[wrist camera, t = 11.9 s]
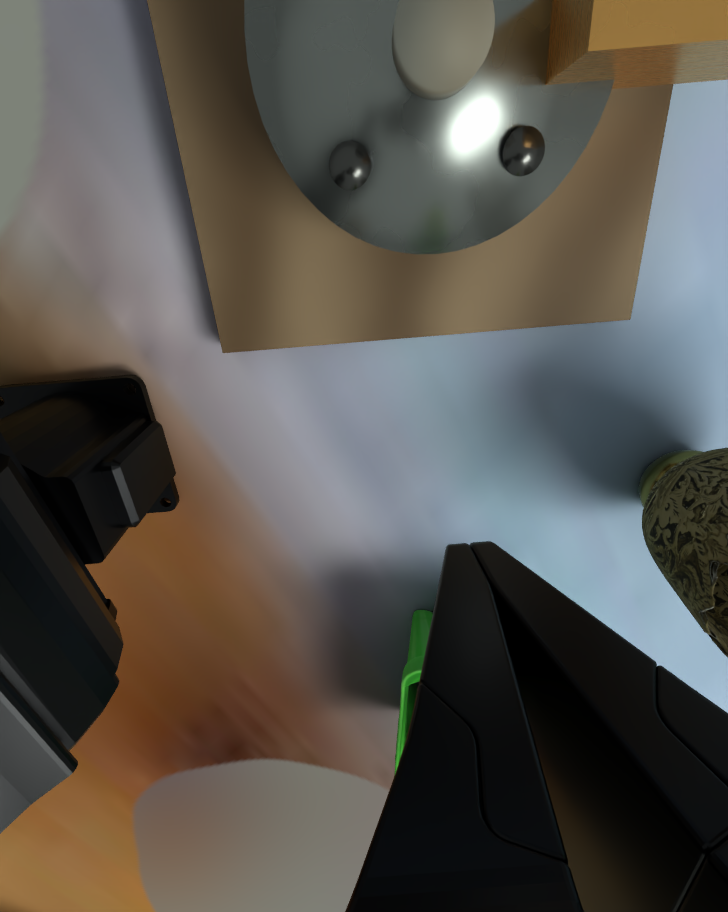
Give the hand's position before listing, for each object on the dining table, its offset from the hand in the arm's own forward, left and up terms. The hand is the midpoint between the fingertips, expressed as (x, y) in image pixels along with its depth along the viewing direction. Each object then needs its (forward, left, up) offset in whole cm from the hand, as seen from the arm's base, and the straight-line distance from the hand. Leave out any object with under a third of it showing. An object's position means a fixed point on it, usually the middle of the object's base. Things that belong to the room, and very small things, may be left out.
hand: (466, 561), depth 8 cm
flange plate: (+3, +10, -10) cm, 14 cm away
